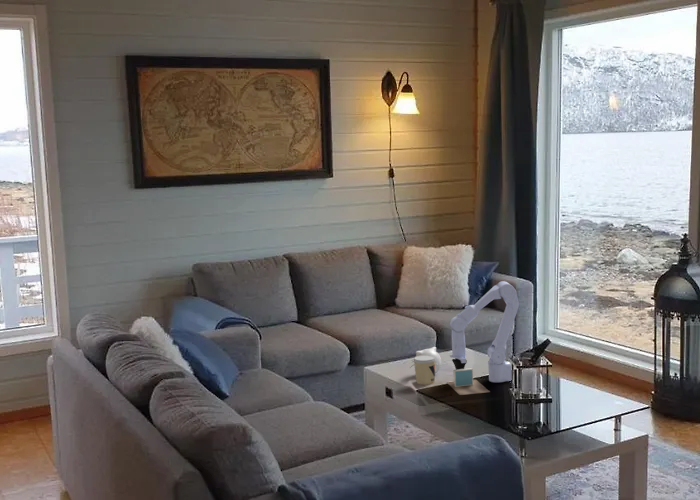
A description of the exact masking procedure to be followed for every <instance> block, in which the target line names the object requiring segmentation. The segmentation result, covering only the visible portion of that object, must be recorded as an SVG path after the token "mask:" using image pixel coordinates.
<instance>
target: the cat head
mask: <svg viewBox="0 0 700 500" xmlns="http://www.w3.org/2000/svg"><path fill="white" fill-rule="evenodd" d="M415 354H416V355H415V357H417V356H422V355H429V356H433V357H434V358H435V375H436V374H438V372H439V371H440V369H441V368H442V358H441V356H440V354H439V352H438V351H437V347H436V346H433V347H430V348H425V349H422V350H416V351H415ZM411 363H413V364H412V365H411V366H410V368H411V367H415V364H414V358H413V359H412V360H411V361H410V362H409V364H411Z"/></svg>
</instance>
